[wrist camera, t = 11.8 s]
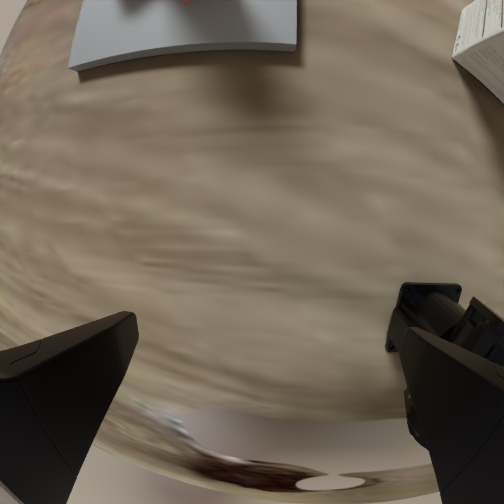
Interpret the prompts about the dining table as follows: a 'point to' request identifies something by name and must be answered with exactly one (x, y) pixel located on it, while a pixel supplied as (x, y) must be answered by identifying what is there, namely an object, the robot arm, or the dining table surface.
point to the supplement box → (482, 43)
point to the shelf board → (179, 28)
